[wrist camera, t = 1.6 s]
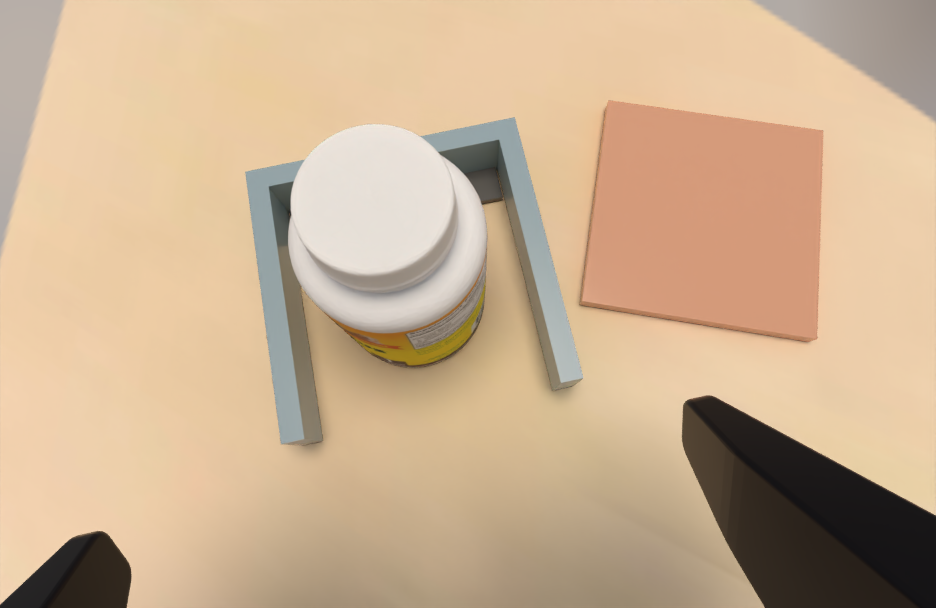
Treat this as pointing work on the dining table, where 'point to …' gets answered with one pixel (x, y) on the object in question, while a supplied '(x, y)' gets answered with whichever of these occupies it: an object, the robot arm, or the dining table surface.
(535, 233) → the channel
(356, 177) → the supplement bottle
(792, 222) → the tile
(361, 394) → the dining table surface
